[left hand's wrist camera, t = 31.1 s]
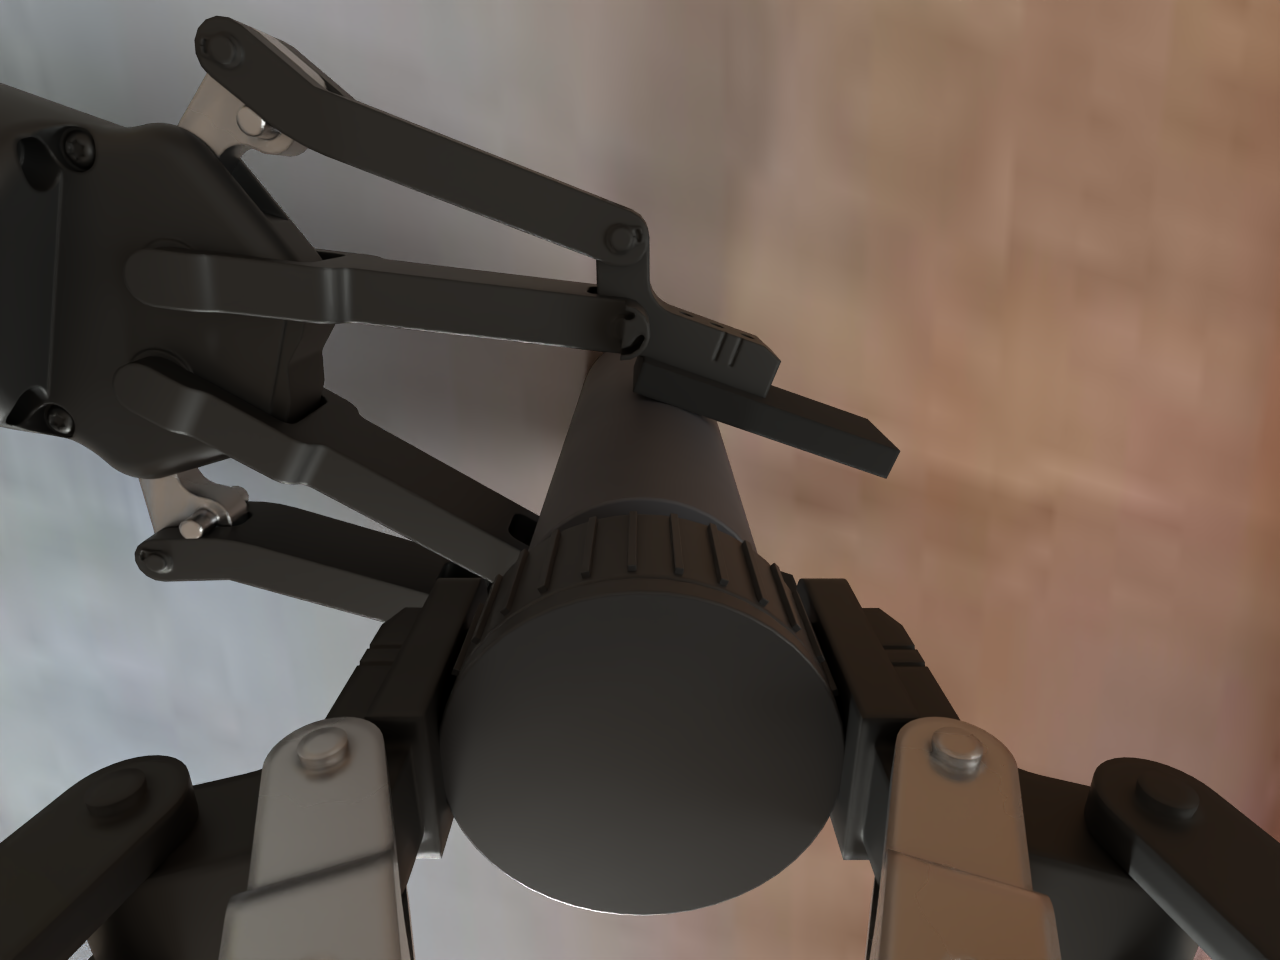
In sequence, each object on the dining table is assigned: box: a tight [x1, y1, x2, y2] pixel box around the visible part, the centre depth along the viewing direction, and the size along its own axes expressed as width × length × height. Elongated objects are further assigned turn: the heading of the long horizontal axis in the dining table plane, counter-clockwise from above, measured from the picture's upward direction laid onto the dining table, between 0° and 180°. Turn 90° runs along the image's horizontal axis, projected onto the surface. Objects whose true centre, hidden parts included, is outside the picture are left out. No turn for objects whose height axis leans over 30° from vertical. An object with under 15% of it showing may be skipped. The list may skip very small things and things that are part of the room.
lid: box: [439, 511, 845, 916], centre depth 10 cm, size 5×5×2 cm
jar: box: [528, 352, 757, 553], centre depth 18 cm, size 4×4×16 cm
